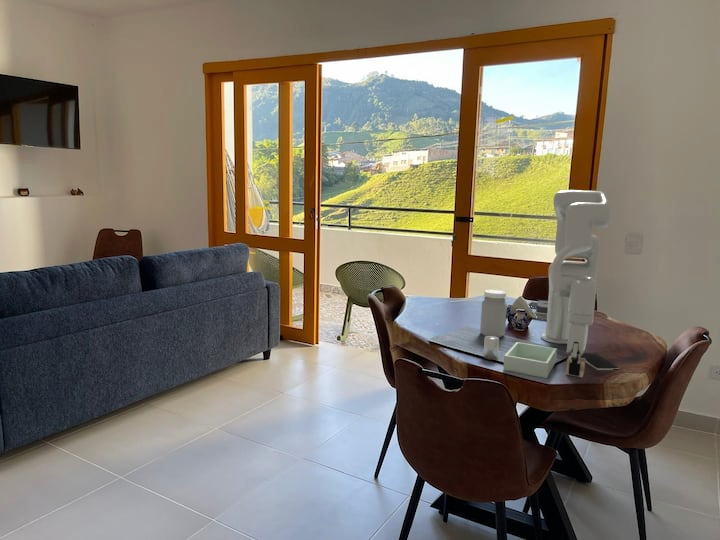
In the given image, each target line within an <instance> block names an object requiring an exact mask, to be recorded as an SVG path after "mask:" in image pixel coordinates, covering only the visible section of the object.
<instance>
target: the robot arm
mask: <svg viewBox="0 0 720 540" xmlns="http://www.w3.org/2000/svg"><path fill="white" fill-rule="evenodd" d="M553 209H554V212H555V216H556V224H557V225H556V230H555V231H556V232H555V233H556V235H555V241H554V242H555V244H554V252H555V253H554V254H556V256H555V257H554V259H553V261H552V262H551V263H550V265H549V266H548V270H547V271H548V299H547V301H548V311H547V321H546V322H545V332H543V333H541V335H540V338H541V339H542V340H543V341H546V342H549V343H553V344H558V345H566V350H565V352H566V354H569V353H570V356H571V359H570V363H569V374H570V375H569V376H571V375H575V376H574V377H577V376H579V374H580V358H582V355H583V353H585V349H586V347H587V346H586V345H587V340H588V334H589V333H588V331H589V326H592V325H593V324H594V317H595V316H594V315H595V314H594V312H595V306H596V305H595V304H596V296H597V295H596V294H597V293H598V291H597V290H598V282H597V277H598V270H599V262H600V256H601V255H600V254H601V241H600V239H599V237H598V236H597V235H595V234H593V228H600V229H601V228H602V229H603V228H605V229H606V228H607V227H609V226H610V224H611V221H612V208H611V205H610V202H609V200H608V197H607V195H606V193H604V192H603V191H600V190H582V189H581V190H580V189H578V190H577V189H563V190H559V191H557V192H556V193H555V194H554V196H553ZM567 259H577V260H578V259H579V260H585V261H577V260H576V261H575V260H567Z"/></svg>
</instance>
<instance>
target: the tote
mask: <svg viewBox="0 0 720 540" xmlns="http://www.w3.org/2000/svg"><path fill="white" fill-rule="evenodd" d="M557 353H558V349H557V348H555V347H550V346H543V345H537V344H532V343H525V342H520V341H519V342H518V341H517V342H515V343H514V344H513V346H512V347H510V348H509V350H508V351H507V352H506V353H505V354H504V357H503V371H507V372H511V373H516V374H521V375H527V376H533V377H538V378H543V379H548V377H549V375H550V373H551V371H552V370H553V368H554V366H555V364H556V362H557Z"/></svg>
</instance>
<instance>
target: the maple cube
mask: <svg viewBox="0 0 720 540" xmlns="http://www.w3.org/2000/svg"><path fill="white" fill-rule="evenodd" d="M570 359H571V355H569V356H568V357H567V359H566V366H565V367H566V369H565V375H566V376H567V375H568V376H573V377H578V378H583V377H584V374H585V367H586V362H585V359H586V358H580V374H579V376H575V375H570V374H569V363H570Z"/></svg>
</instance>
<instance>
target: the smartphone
mask: <svg viewBox="0 0 720 540" xmlns="http://www.w3.org/2000/svg"><path fill="white" fill-rule="evenodd" d="M582 358H586V359H585V364H587V365H589V366H590V367H592V368H594V369H595V370H597V371H614V370H613V369H619V370H620V367H618V366H617V365H615V364H614V363H612V362H611V361H609V360H607V359H605V358H604V357H602V356H600V355H599V354H597V353H595V352H590V353H589V352H586V353H585V352H584V353H583V355H582Z"/></svg>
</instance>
